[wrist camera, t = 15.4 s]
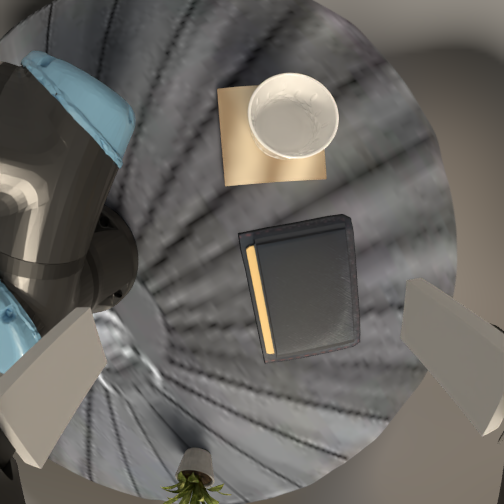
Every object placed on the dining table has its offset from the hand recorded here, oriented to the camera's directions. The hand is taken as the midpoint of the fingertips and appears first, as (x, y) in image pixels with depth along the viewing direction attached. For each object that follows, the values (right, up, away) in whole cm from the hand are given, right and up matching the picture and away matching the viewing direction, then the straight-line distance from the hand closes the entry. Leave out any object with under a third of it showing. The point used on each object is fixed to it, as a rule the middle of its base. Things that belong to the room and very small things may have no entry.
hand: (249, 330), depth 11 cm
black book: (+7, -2, +29) cm, 30 cm away
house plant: (-9, -36, +36) cm, 52 cm away
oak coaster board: (+2, +17, +23) cm, 29 cm away
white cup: (+3, +17, +22) cm, 28 cm away
